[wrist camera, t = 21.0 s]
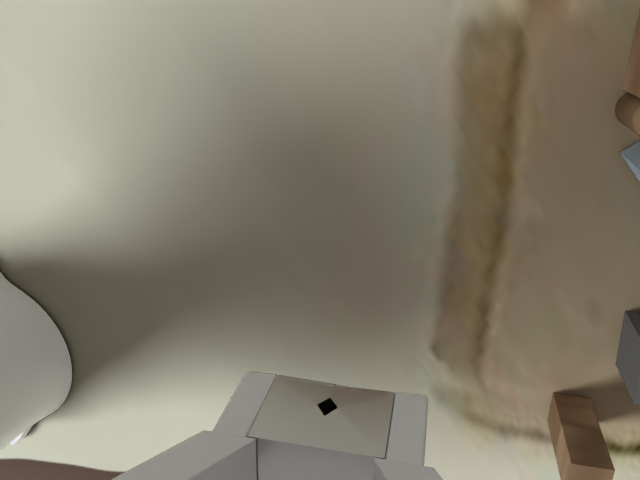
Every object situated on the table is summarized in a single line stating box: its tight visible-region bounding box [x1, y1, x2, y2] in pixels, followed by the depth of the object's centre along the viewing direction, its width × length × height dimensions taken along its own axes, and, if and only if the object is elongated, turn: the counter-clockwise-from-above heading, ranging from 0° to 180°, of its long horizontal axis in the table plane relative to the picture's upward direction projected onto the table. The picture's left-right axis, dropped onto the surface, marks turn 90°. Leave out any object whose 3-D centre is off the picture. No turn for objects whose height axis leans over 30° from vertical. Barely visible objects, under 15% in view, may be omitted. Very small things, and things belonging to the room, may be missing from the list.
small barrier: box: [548, 11, 640, 480], centre depth 33 cm, size 2×33×7 cm, turn 179°
